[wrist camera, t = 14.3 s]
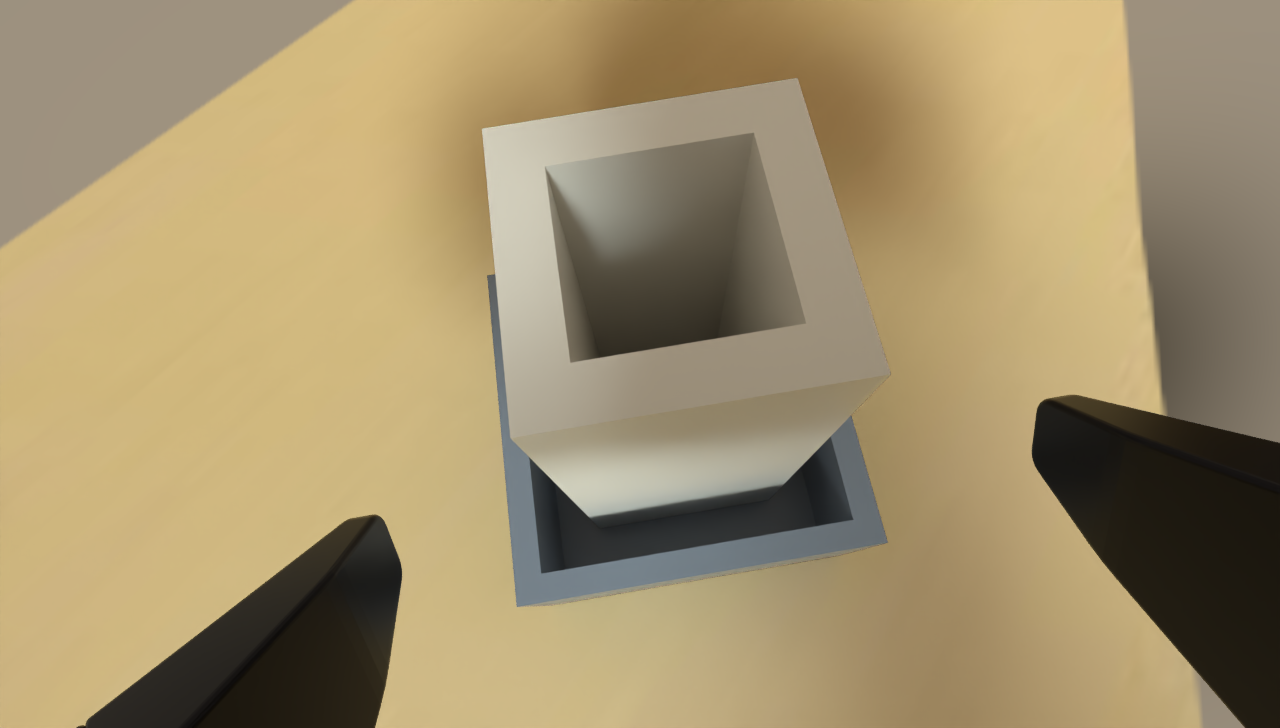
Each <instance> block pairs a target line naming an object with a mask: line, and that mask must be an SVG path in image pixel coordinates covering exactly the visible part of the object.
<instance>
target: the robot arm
mask: <svg viewBox="0 0 1280 728" xmlns="http://www.w3.org/2000/svg"><path fill="white" fill-rule="evenodd" d="M1032 458H1033V462H1034V464H1035V467H1036V469H1037V470H1038V472H1039V473H1040V475H1041V476H1042V478H1043V479H1044V480H1045V482H1046V483H1047V485H1048V486H1049V487H1050V489H1051V490H1052V492H1053V493H1054V495H1055V496H1056V497H1057V499H1058V500H1059V502H1060V503H1061V505H1062V506H1063V507H1064V509H1065V510H1066V512H1067V513H1068V515H1069V516H1070V517H1071V519H1072V520H1073V522H1074V523H1075V524H1076V526H1077V527H1078V529H1079V530H1080V532H1081V533H1082V534H1083V536H1084V537H1085V539H1086V540H1087V542H1088V543H1089V544H1090V546H1091V547H1092V548H1093V550H1094V551H1095V552H1096V554H1097V555H1098V556H1099V558H1100V559H1101V560H1102V562H1103V563H1104V564H1105V565H1106V567H1107V568H1108V569H1109V570H1110V571H1111V573H1112V574H1113V575H1114V576H1115V578H1116V579H1117V580H1118V581H1119V582H1120V583H1121V585H1122V586H1123V587H1124V588H1125V589H1126V590H1127V591H1128V593H1129V594H1130V595H1131V596H1132V597H1133V598H1134V600H1135V601H1136V602H1137V603H1138V604H1139V605H1140V607H1141V608H1142V609H1143V610H1144V611H1145V612H1146V614H1147V615H1148V616H1149V617H1150V618H1151V619H1152V620H1153V622H1154V623H1155V624H1156V625H1157V626H1158V627H1159V629H1160V630H1161V631H1162V632H1163V633H1164V634H1165V636H1166V637H1167V638H1168V639H1169V640H1170V641H1171V643H1172V644H1173V645H1174V646H1175V647H1176V648H1177V649H1178V651H1179V652H1180V653H1181V654H1182V655H1183V656H1184V658H1185V659H1186V660H1187V661H1188V662H1189V663H1190V665H1191V666H1192V667H1193V668H1194V669H1195V670H1196V672H1197V673H1198V674H1199V675H1200V676H1201V677H1202V679H1203V680H1204V681H1205V682H1206V683H1207V684H1208V685H1209V687H1210V688H1211V689H1212V690H1213V691H1214V692H1215V694H1216V695H1217V696H1218V697H1219V698H1220V699H1221V700H1222V701H1223V703H1224V704H1225V705H1226V706H1227V708H1228V709H1229V710H1230V711H1231V712H1232V713H1233V714H1234V716H1235V717H1236V718H1237V719H1238V720H1239V721H1240V723H1241V724H1242V725H1243V726H1244V727H1245V728H1280V443H1278V442H1273V441H1269V440H1265V439H1261V438H1256V437H1252V436H1248V435H1244V434H1239V433H1235V432H1231V431H1227V430H1223V429H1218V428H1214V427H1210V426H1205V425H1201V424H1197V423H1193V422H1188V421H1185V420H1180V419H1176V418H1172V417H1168V416H1163V415H1159V414H1155V413H1151V412H1146V411H1142V410H1138V409H1134V408H1130V407H1125V406H1121V405H1117V404H1113V403H1108V402H1104V401H1100V400H1096V399H1091V398H1087V397H1083V396H1079V395H1066V396H1060V397H1054V398H1049V399H1045V400H1043V401H1042V402H1041V403H1040V404H1039V406H1038V408H1037V413H1036V421H1035V429H1034V437H1033V444H1032ZM401 581H402V568H401V563H400V559H399V557H398V554H397V552H396V549H395V547H394V544H393V542H392V539H391V536H390V534H389V531H388V529H387V526H386V524H385V522H384V520H383V519H382V518H381V517H380V516H378V515H368V516H363V517H357V518H351V519H348V520H346V521H344V522H343V523H342V524H341V525H339V526H338V527H337V528H335V529H334V530H333V531H331V532H330V533H329V534H328V535H326V536H325V537H324V538H322V539H321V540H320V541H318V542H317V543H316V544H315V545H313V546H312V547H311V548H309V549H308V550H307V551H305V552H304V553H303V554H302V555H300V556H299V557H298V558H296V559H295V560H294V561H293V562H291V563H290V564H289V565H287V566H286V567H285V568H283V569H282V570H281V571H280V572H278V573H277V574H276V575H274V576H273V577H272V578H270V579H269V580H268V581H267V582H265V583H264V584H263V585H261V586H260V587H259V588H257V589H256V590H255V591H254V592H252V593H251V594H250V595H248V596H247V597H246V598H245V599H243V600H242V601H241V602H239V603H238V604H237V605H235V606H234V607H233V608H232V609H230V610H229V611H228V612H226V613H225V614H224V615H222V616H221V617H220V618H219V619H217V620H216V621H215V622H213V623H212V624H211V625H209V626H208V627H207V628H206V629H204V630H203V631H202V632H200V633H199V634H198V635H196V636H195V637H194V638H193V639H191V640H190V641H189V642H187V643H186V644H185V645H184V646H182V647H181V648H180V649H178V650H177V651H176V652H174V653H173V654H172V655H171V656H169V657H168V658H167V659H165V660H164V661H163V662H161V663H160V664H159V665H158V666H156V667H155V668H154V669H152V670H151V671H150V672H148V673H147V674H146V675H145V676H143V677H142V678H141V679H139V680H138V681H137V682H136V683H134V684H133V685H132V686H130V687H129V688H128V689H126V690H125V691H124V692H123V693H121V694H120V695H119V696H117V697H116V698H115V699H113V700H112V701H111V702H110V703H108V704H107V705H106V706H104V707H103V708H102V709H100V710H99V711H98V712H97V713H95V714H94V715H93V716H91V717H90V718H89V719H88V720H87V722H86V726H84V725H81V726H78V727H77V728H375V726H376V722H377V718H378V714H379V711H380V707H381V703H382V698H383V694H384V690H385V686H386V680H387V675H388V669H389V662H390V656H391V649H392V642H393V635H394V629H395V622H396V615H397V608H398V602H399V595H400V588H401Z"/></svg>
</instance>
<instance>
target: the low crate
mask: <svg viewBox="0 0 1280 728" xmlns="http://www.w3.org/2000/svg"><path fill="white" fill-rule="evenodd" d="M487 278H488V289H489V300H490V311H491V322H492V334H493V345H494V356H495V367H496V379H497V390H498V401H499V412H500V423H501V435H502V446H503V457H504V468H505V479H506V491H507V502H508V513H509V524H510V535H511V547H512V558H513V569H514V580H515V592H516V603H517V607H528V606H550V605H557V604H562V603H568V602H574V601H580V600H585V599H591V598H597V597H603V596H609V595H614V594H620V593H626V592H632V591H637V590H643V589H649V588H655V587H660V586H666V585H672V584H678V583H684V582H689V581H695V580H701V579H707V578H712V577H718V576H724V575H730V574H735V573H741V572H747V571H753V570H759V569H764V568H770V567H776V566H782V565H787V564H793V563H799V562H805V561H810V560H816V559H822V558H828V557H834V556H839V555H843V554H847V553H851V552H855V551H858V550H862V549H866V548H870V547H874V546H877V545H881V544H885V543H888V541H887V538H886V535H885V531H884V528H883V524H882V521H881V517H880V514H879V510H878V507H877V503H876V500H875V496H874V493H873V489H872V486H871V482H870V479H869V476H868V472H867V469H866V465H865V462H864V458H863V455H862V451H861V448H860V444H859V441H858V437H857V434H856V430H855V427H854V424H853V420H852V417H851V416H850V417H849V418H848V419H847V420H846V421H845V422H844V423H843V424H842V425H841V426H840V427H839V428H838V429H837V430H836V431H835V432H834V433H833V434H832V435H831V436H830V437H829V439H828V440H827V441H826V442H825V443H824V444H823V445H822V446H821V447H820V448H819V449H818V450H817V451H816V452H815V453H814V454H813V455H812V456H811V457H810V458H809V459H808V460H807V461H806V462H805V463H804V464H803V465H802V466H801V467H800V468H799V469H798V470H797V471H796V472H795V473H794V474H793V475H792V476H791V477H790V479H789V480H788V481H787V482H786V483H785V484H784V485H783V486H782V487H781V488H780V489H779V490H778V491H777V492H776V493H775V494H774V495H773V496H772V497H771V498H770V499H769V500H764V501H759V502H753V503H747V504H741V505H735V506H729V507H723V508H717V509H711V510H705V511H700V512H694V513H688V514H682V515H676V516H670V517H664V518H658V519H652V520H647V521H641V522H635V523H629V524H623V525H617V526H611V527H605V528H599V527H598V526H597V525H596V524H595V523H594V522H593V521H592V520H591V519H590V518H589V517H588V516H587V515H586V514H585V513H584V512H583V511H582V510H581V509H580V508H579V507H578V506H577V505H576V504H575V503H574V502H573V501H572V500H571V499H570V498H569V497H568V496H567V495H566V494H565V493H564V492H563V491H562V490H561V489H560V488H559V487H558V486H557V485H556V484H555V483H554V482H553V481H552V480H551V479H550V478H549V477H548V476H547V474H546V473H545V472H544V471H543V470H542V469H541V468H540V467H539V466H538V465H537V464H536V463H535V462H534V461H533V460H532V459H531V458H530V457H529V456H528V455H527V454H526V453H525V452H524V451H523V450H522V449H521V448H520V447H519V446H518V445H517V444H516V443H515V442H514V441H513V440H512V439H511V438H510V429H509V418H508V407H507V397H506V386H505V375H504V364H503V353H502V342H501V331H500V320H499V309H498V298H497V287H496V277H495V274H494V275H488V276H487Z"/></svg>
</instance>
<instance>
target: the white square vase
mask: <svg viewBox="0 0 1280 728" xmlns="http://www.w3.org/2000/svg"><path fill="white" fill-rule="evenodd" d="M482 135H483V146H484V156H485V167H486V178H487V189H488V200H489V211H490V222H491V233H492V244H493V255H494V266H495V277H496V287H497V298H498V309H499V320H500V331H501V342H502V353H503V364H504V375H505V386H506V397H507V407H508V418H509V429H510V438H511V439H512V440H513V441H514V442H515V443H516V444H517V445H518V446H519V447H520V448H521V449H522V450H523V451H524V452H525V453H526V454H527V455H528V456H529V457H530V458H531V459H532V460H533V461H534V462H535V463H536V464H537V465H538V466H539V467H540V468H541V469H542V470H543V471H544V472H545V473H546V474H547V476H548V477H549V478H550V479H551V480H552V481H553V482H554V483H555V484H556V485H557V486H558V487H559V488H560V489H561V490H562V491H563V492H564V493H565V494H566V495H567V496H568V497H569V498H570V499H571V500H572V501H573V502H574V503H575V504H576V505H577V506H578V507H579V508H580V509H581V510H582V511H583V512H584V513H585V514H586V515H587V516H588V517H589V518H590V519H591V520H592V521H593V522H594V523H595V524H596V525H597V526H598V527H599V528H605V527H611V526H617V525H623V524H629V523H635V522H641V521H647V520H652V519H658V518H664V517H670V516H676V515H682V514H688V513H694V512H700V511H705V510H711V509H717V508H723V507H729V506H735V505H741V504H747V503H753V502H759V501H764V500H769V499H770V498H771V497H772V496H773V495H774V494H775V493H776V492H777V491H778V490H779V489H780V488H781V487H782V486H783V485H784V484H785V483H786V482H787V481H788V480H789V479H790V477H791V476H792V475H793V474H794V473H795V472H796V471H797V470H798V469H799V468H800V467H801V466H802V465H803V464H804V463H805V462H806V461H807V460H808V459H809V458H810V457H811V456H812V455H813V454H814V453H815V452H816V451H817V450H818V449H819V448H820V447H821V446H822V445H823V444H824V443H825V442H826V441H827V440H828V439H829V437H830V436H831V435H832V434H833V433H834V432H835V431H836V430H837V429H838V428H839V427H840V426H841V425H842V424H843V423H844V422H845V421H846V420H847V419H848V418H849V417H850V416H851V415H852V414H853V413H854V412H855V411H856V410H857V409H858V408H859V407H860V406H861V405H862V404H863V403H864V402H865V401H866V400H867V398H868V397H869V396H870V395H871V394H872V393H873V392H874V391H875V390H876V389H877V388H878V387H879V386H880V385H881V384H882V383H883V382H884V381H885V380H886V379H887V378H888V377H889V376H890V375H891V373H890V369H889V366H888V363H887V360H886V357H885V354H884V350H883V347H882V344H881V341H880V338H879V335H878V331H877V328H876V325H875V322H874V319H873V316H872V312H871V309H870V306H869V303H868V300H867V297H866V293H865V290H864V287H863V284H862V281H861V278H860V274H859V271H858V268H857V265H856V262H855V259H854V255H853V252H852V249H851V246H850V243H849V240H848V236H847V233H846V230H845V227H844V224H843V221H842V217H841V214H840V211H839V208H838V205H837V202H836V198H835V195H834V192H833V189H832V186H831V183H830V179H829V176H828V173H827V170H826V167H825V164H824V160H823V157H822V154H821V151H820V148H819V145H818V141H817V138H816V135H815V132H814V129H813V126H812V122H811V119H810V116H809V113H808V110H807V107H806V103H805V100H804V97H803V94H802V91H801V88H800V84H799V81H798V78H793V79H787V80H781V81H774V82H768V83H762V84H756V85H750V86H743V87H737V88H731V89H725V90H719V91H712V92H706V93H700V94H694V95H688V96H681V97H675V98H669V99H663V100H657V101H650V102H644V103H638V104H632V105H626V106H619V107H613V108H607V109H601V110H595V111H589V112H582V113H576V114H570V115H564V116H558V117H551V118H545V119H539V120H533V121H527V122H520V123H514V124H508V125H502V126H496V127H489V128H483V129H482Z"/></svg>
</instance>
